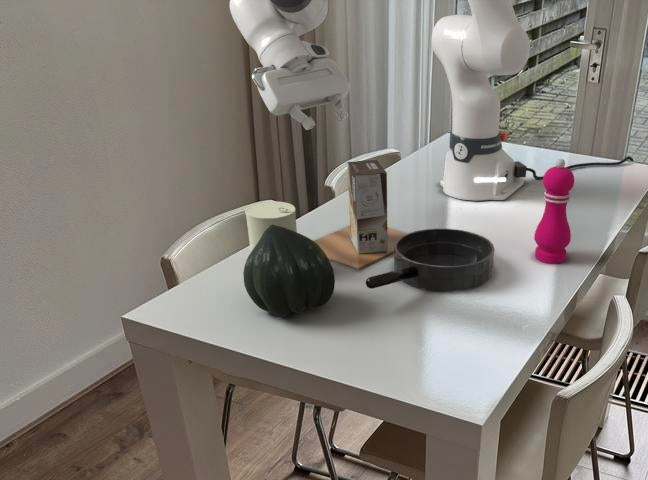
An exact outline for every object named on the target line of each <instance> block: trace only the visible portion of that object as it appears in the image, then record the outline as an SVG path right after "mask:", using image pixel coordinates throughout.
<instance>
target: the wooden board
mask: <svg viewBox="0 0 648 480" xmlns="http://www.w3.org/2000/svg"><path fill="white" fill-rule="evenodd" d="M387 232H388V250H387V251H386V252H374V253H363V254H358V252H357V250H356V248H355V246H354V244H353V242H352V240H351V235H350V225H349V226H346V227H345V228H343V229H339V230H337V231H335V232H332V233H330V234H327V235H325V236H323V237H320V238H318V239H315V240H313V241H314V242H316V243H317V244H318V245H319V246H320V248H321V249H322V250H323V251H324V253H325V254H326V256H327V257H328V259H329V261H331V262H334V263H337V264H340V265H343V266H346V267H349V268H352V269H354V270H358V271H359V270H361V269H364V268H365V267H368V266H370V265H372V264H374V263H377V262H378V261H380V260H383V259H384V258H386V257H388V256H391V255H393V254H394V244H395V242H396V241H397V240H398V239H399V238H400V237H402V236H404V235H406V234H407V233H405V232H402V231H399V230H396V229H392V228H389V227H387Z"/></svg>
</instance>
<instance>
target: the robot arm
mask: <svg viewBox="0 0 648 480" xmlns="http://www.w3.org/2000/svg"><path fill="white" fill-rule="evenodd" d="M467 3H468V5H469V9H470V12H471V15H469V14H462V13H461V14H451V15H446V16H443V17H441V18H440V19H439V20H438V21H437V22H436V23H435V25H434V27H433V28H432V29H433V30H432V32H431V48H432V51H433V53H434V55H435V56H436V58H437V59H438V60H439V61H440V63H441V65H442V67H443V69H444V72H445V75H446V78H447V82H448V85H449V88H450V89H449V90H450V94H451V102H452V104H451V105H452V108H451V109H452V110H451V114H452V115H451V118H452V119H451V131H450V132H449V138H448V139H449V140H448V141H449V149H450V150H449V151H448V152H447V153H446V155H445V164H444V173H443V179H440V180H439V181H440V182H439V185H440V186H441V187H442V190H443V193H444V194H445V195H446V196H449V197H451V198H455V199H459V200H462V201H463V200H464V201H476V202H477V201H490V200H491V201H505V200H507V199H508V198H509V197H511V195H513V194H514V193H515V192H516V191H518V190H519V189H520V188H521V187H522V186H523V185H524V184H525V181H524V179H523V178H526V177H527V172H531V173H532V176H533V178H534V179H535V180H543V177H544V175H543V176H537V171H536V170H535V169H533V168H530V167H527V165H525V164H524V163H522V162H521V161H519V160H518V161H515V160H514V158H512V157H511V156H510V155H509V154H508V153H507V152H506V151H505V150H504V149H503V144H502V142H506V141H507V140H508V137H509V133H508V132H506V131H500V119H501V118H500V117H501V99H500V97H499V95H498V93H497V92H496V91H495V89H494V88H493V87H492V85H491V83H490V80H489V77H488V75H492V76H510V75H516V74H518V73H520V72H521V71H522V70H523V69H524V67H525V66H526V65H527V63H528V60H529V57H530V53H531V42H530V38H529V35H528V33H527V32H526V29H524V28H523V26H522V25H521V24H520V21H519V20H518V18H517V14H516V13H515V9H514V6H513V2H512V0H467ZM329 10H330V3H329V0H229V12H230V15H231V17H232V19H233V21H234V23H235V25H236V27H237V29H238V31H239V32H240V34H241V35H242V37H243V39H244V40H245V41H246V43H247V44H248V45H249V47H251V48H252V49H253V50H254V52H256V55H257V58H258V61H259V62H260V65H262V67H255V68H254V69H253V71H252V73H251V79H252V81H253V82H254V83H255V85H256V87H257V91H258V92H259V95H260V97H261V99H262V102H263V103H264V104H265V106H266V108H267V109H268V111H269V112H270V113H271V114H273V116H277V117H278V116H283V115H286V114H289V115H290V117H291V118H292V119H293V120H295V121H296V122H298V123H299V124H301V125H302V127H303V128H304V129H305V130H306V131H308V130H312V129H314V128H315V126H316V122H315V120H314V119H313V117H312V116H311V115H310V116H308V115H306V113H304V112H303V111H302V110H307V109H310V108H314V107H318V106H322V105H327V104H331V105H332V107H335V109H336V113H335V114H334V115H335V117H336V118H337V120H338V122H339V121H340V122H341V121H345V120H347V119H348V118H349V113H348V111H347V110H346V107H345V101H344V99H345V98H346V97H347V96H348V94H349V93H350V92H351V84H350V82H349V80H348V79H347V77H346V75H345V74H344V72H343V70H342V69H341V68H340V66H339V65H338V64H337V62H335V61H334V60H333V59H332V58H329V56H330V51H329V50H328V48H327V47H326V46H325V45H320V44H315V43H311V42H308V41H306V40H301V39H300V37H302V36H305V35H307V34H308V33H311V32H312V31H314V30H317V28H319V27H321V26H322V25H323V24H324V22H325V21H326V20H327V17H328V14H329ZM628 160H630V162H634V161H635V160H634V159H633V157H632V156H629V155H628V156H626V157H625V158H623V159H622V160H620V161H613V162H600V161H599V162H585V163H584V162H583V163H577V164H572V165H568V166H565V167H566V168H568V169H569V170H571V169H574V168H581V167H590V166H619V165H622V164H624V163H625V162H626V161H628Z"/></svg>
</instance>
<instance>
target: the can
mask: <svg viewBox="0 0 648 480" xmlns="http://www.w3.org/2000/svg"><path fill="white" fill-rule="evenodd" d="M296 211H297V209H296V207H295V206H294V205H293V204H292V203H289V202H285V201H276V200H274V201H273V200H270V201H269V200H268V201H261V202H256V203H253V204H250V205H249V206H247V207H246V208H245V211H244V213H245V219H246V226H247V232H248V243H249V250H250V251H249V252H250V253H251V251H252V250H253V248H254V247H255V245H256V244H257V243H258V241H259V239H260V238H261V236H262V234H263V233H264V231H265V230H266V229H267V228H268V227H270V225H272V224H274V225H276V226H281V227H284V228H287V229H289V230H292V231H295V232H297V233H298V230H297V216H296V215H297V214H296Z"/></svg>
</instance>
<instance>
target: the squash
mask: <svg viewBox="0 0 648 480" xmlns="http://www.w3.org/2000/svg"><path fill="white" fill-rule="evenodd" d="M314 241H315V240H313V239H311V238H310V237H307V236H305V235H304V234H301V233H299V232H298V231H297V232H295V231H292V230H289V229H287V228H284V227H281V226H276V225H274V224H272V225H270V227H268V228H267V229H266V230H265V231H264V233H263V234H262V236H261V238H260V239H259V241H258V243H257V244H256V245H255V247H254V248H253V250H252V251H251V252H250V253H249V254H248V257H247V259H246V261H245V263H244V268H243V283H244V288H245V291H246V293H247V294H248V296H249V298H250V299H251V300H252V302H253V303H254V305H256V306H257V307H258V308H259V309H260V310H263V311H264V312H268V313H271V314H273V315H275V316H276V317H287V316H289V315H290V314H292V313H294V314H295V313H296V314H300V313H302V312H303V311H305V309H309V308H311V309H312V308H319V307H321V306H324V305H325V304H327V303H328V302H329V301H330V300H331V298H332V296H333V295H334V292H335V286H336V277H335V271H334V267H333V264H332V263H331V262H330V261H331V260H329V259H328V257H327V256H326V254H325V253H324V251H323V250H322V249H321V248H320V246H319V245H318V244H317V243H316V242H314Z"/></svg>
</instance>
